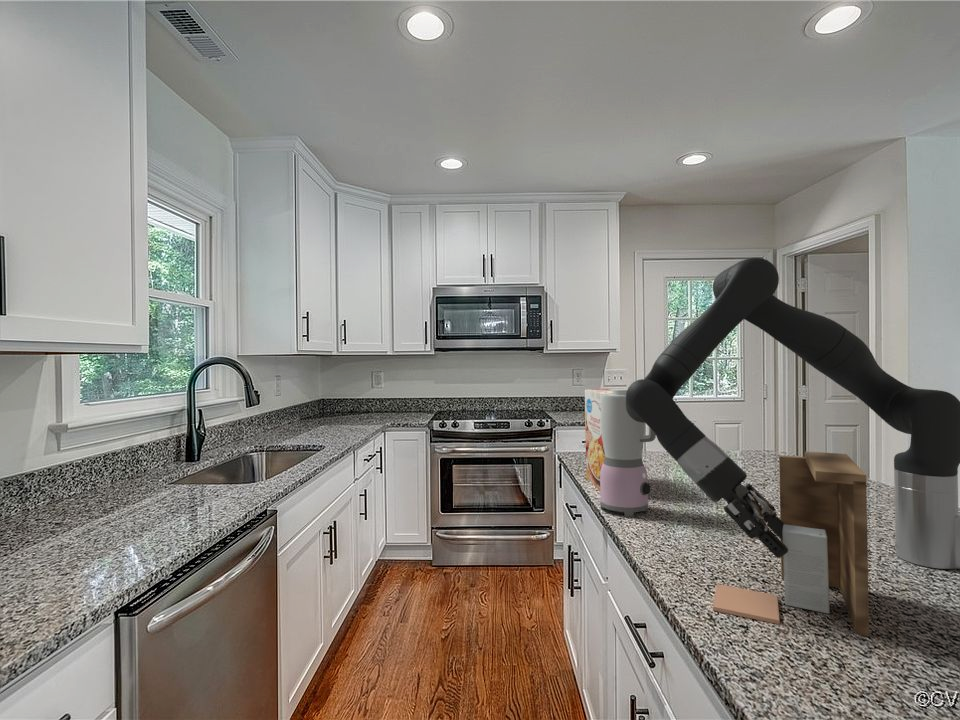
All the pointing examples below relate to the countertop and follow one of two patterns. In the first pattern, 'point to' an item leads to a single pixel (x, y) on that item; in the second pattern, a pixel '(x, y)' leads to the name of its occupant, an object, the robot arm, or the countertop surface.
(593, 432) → the pasta box
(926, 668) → the countertop surface
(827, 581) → the skincare box
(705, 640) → the countertop surface
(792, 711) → the countertop surface
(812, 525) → the walnut cubby
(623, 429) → the blender
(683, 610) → the countertop surface
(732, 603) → the terracotta tile
